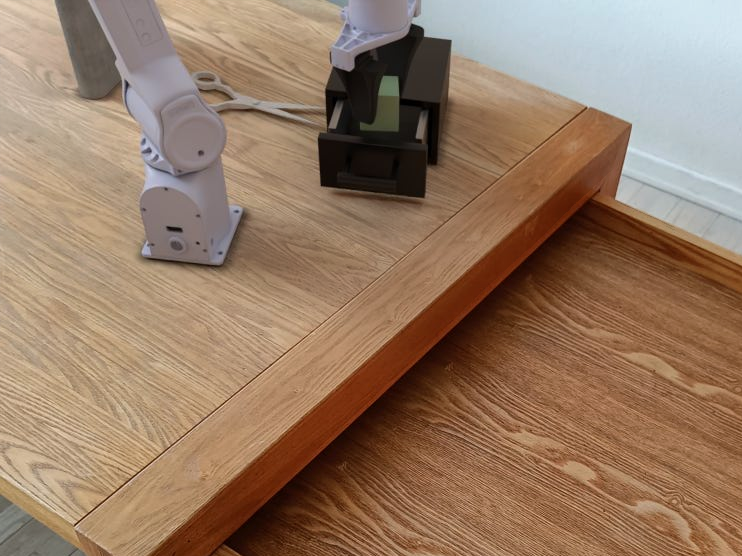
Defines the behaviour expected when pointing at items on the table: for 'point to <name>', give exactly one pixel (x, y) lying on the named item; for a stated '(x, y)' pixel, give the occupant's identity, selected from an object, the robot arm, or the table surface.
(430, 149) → the cabinet
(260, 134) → the table surface
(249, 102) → the scissors
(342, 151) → the drawer
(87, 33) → the hip flask
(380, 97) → the block
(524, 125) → the table surface
